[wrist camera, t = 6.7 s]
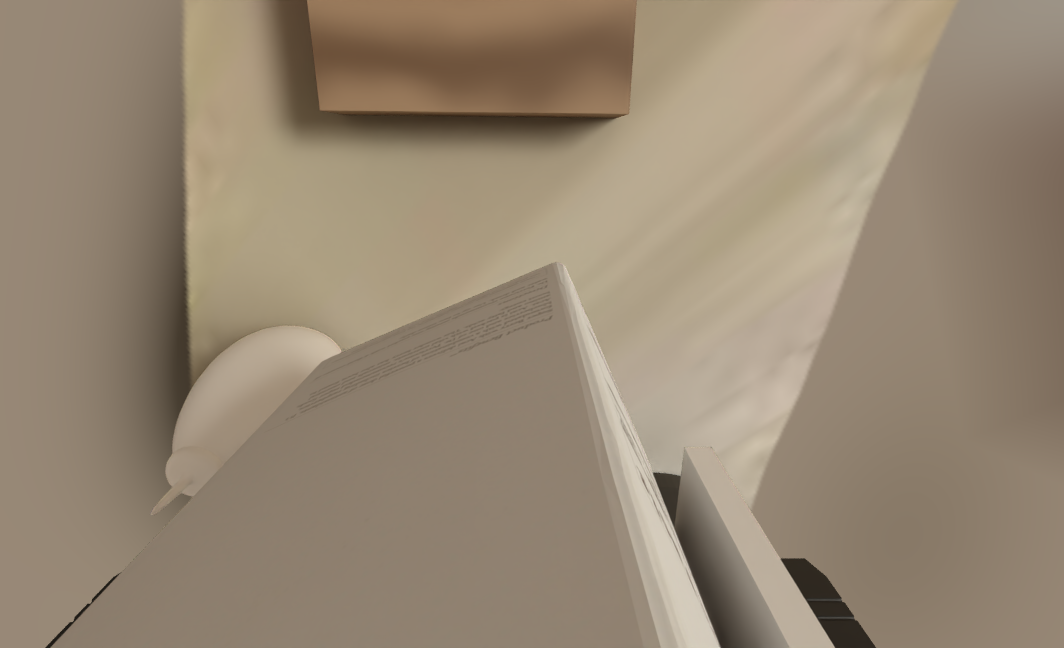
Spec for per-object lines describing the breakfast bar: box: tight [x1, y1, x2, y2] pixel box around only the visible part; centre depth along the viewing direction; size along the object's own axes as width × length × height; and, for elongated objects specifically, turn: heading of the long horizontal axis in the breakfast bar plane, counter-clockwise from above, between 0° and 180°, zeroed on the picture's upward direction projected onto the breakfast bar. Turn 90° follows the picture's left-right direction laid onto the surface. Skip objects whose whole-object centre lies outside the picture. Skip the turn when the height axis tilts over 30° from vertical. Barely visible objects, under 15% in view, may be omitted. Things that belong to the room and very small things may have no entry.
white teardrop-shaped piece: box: [150, 325, 342, 516], centre depth 30 cm, size 8×8×18 cm
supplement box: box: [51, 262, 721, 648], centre depth 11 cm, size 9×9×15 cm
